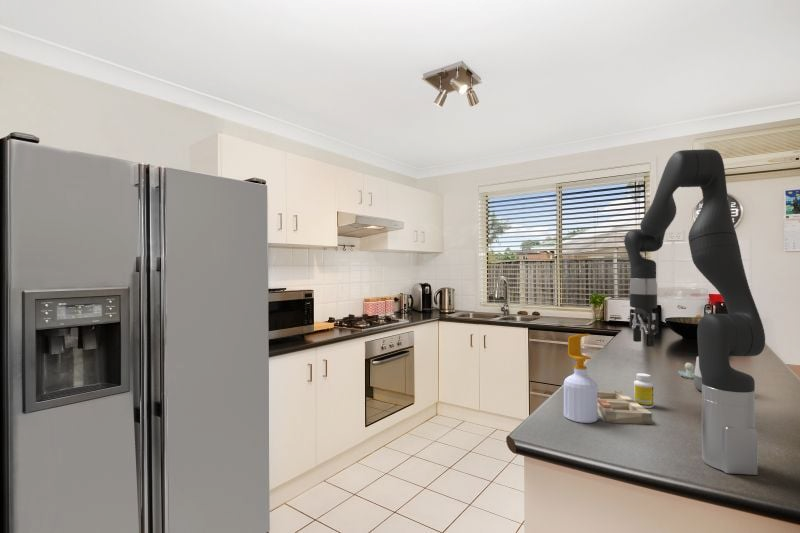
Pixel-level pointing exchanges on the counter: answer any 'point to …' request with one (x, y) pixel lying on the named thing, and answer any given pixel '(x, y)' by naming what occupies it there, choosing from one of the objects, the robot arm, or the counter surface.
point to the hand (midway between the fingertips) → (643, 343)
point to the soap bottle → (580, 387)
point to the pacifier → (688, 371)
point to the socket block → (621, 408)
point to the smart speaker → (698, 376)
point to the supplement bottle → (643, 390)
